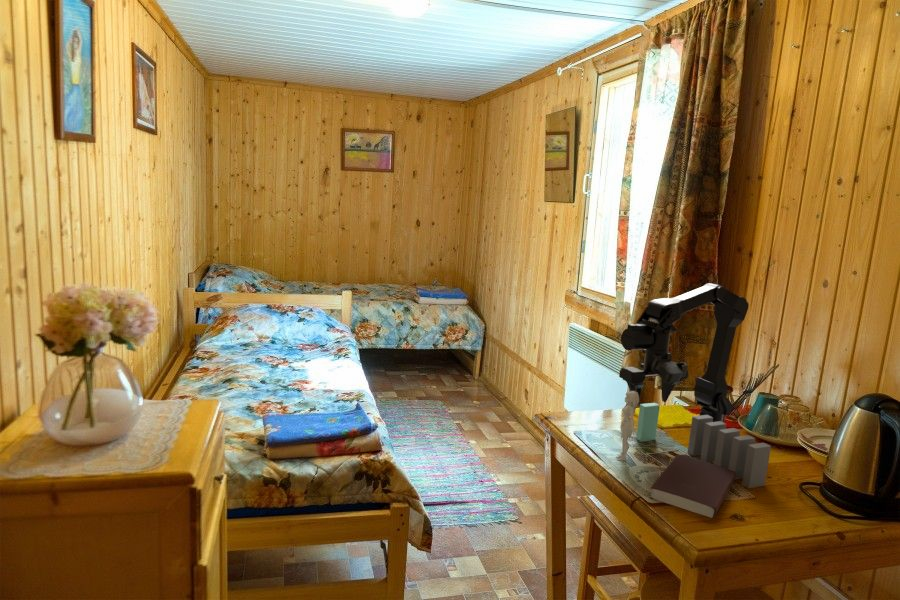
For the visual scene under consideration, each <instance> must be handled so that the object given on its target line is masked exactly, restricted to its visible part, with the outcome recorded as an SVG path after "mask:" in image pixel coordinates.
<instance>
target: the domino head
mask: <svg viewBox="0 0 900 600" xmlns="http://www.w3.org/2000/svg"><path fill="white" fill-rule="evenodd" d="M660 406H661V405H660V404H658V403H656V402H651V403H650V402H649V403H639V410H638V417H637V425H636V426H637V427H636V428H637V429H636V433H635V435H636V436H635V439H636V440H637V441H639V442H641V443H642V442H648V441H649V442H650V441H656V439H657V430H658V422H659V415H660Z"/></svg>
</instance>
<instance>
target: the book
mask: <svg viewBox="0 0 900 600" xmlns="http://www.w3.org/2000/svg"><path fill="white" fill-rule="evenodd" d="M735 476H736V472H735V471H732V470H729V469H726V468H724V467H721V466H718V465H715V464H714V463H712V462H710V463H708V462H705V461H702V460H700V458H699V459H698V458H695V457H691V456H688V455H684V454H681V453H680V454H676V456H675V457H674V458H673V459H672V460H671V462H670V463H669V464H668V466H667V467H666V468H665V469H664V471H663V472H662V473H661V474H660V475H659V477H658V478H657V479H656V480H655V482H653V484H652V485H651V487H650V489H651V494H650V495H649V496H648V499H650V500H655V501H658V502H661V503H665V504H667V505H671V506H675V507H678V508H680V509H682V510H683V509H684V510H686V511H689V512H693V513H695V514H698V515H701V516H705V517H708V518H711V519H714V518H715V517H716V516H717V513H718V512H719V509H720V507H721V506H722V504H723V502H724V500H725V499H726V496H727V494H728V492H729V491H730V489H731V488H732V486H733V484H734V483H735V480H736V479H735Z"/></svg>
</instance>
